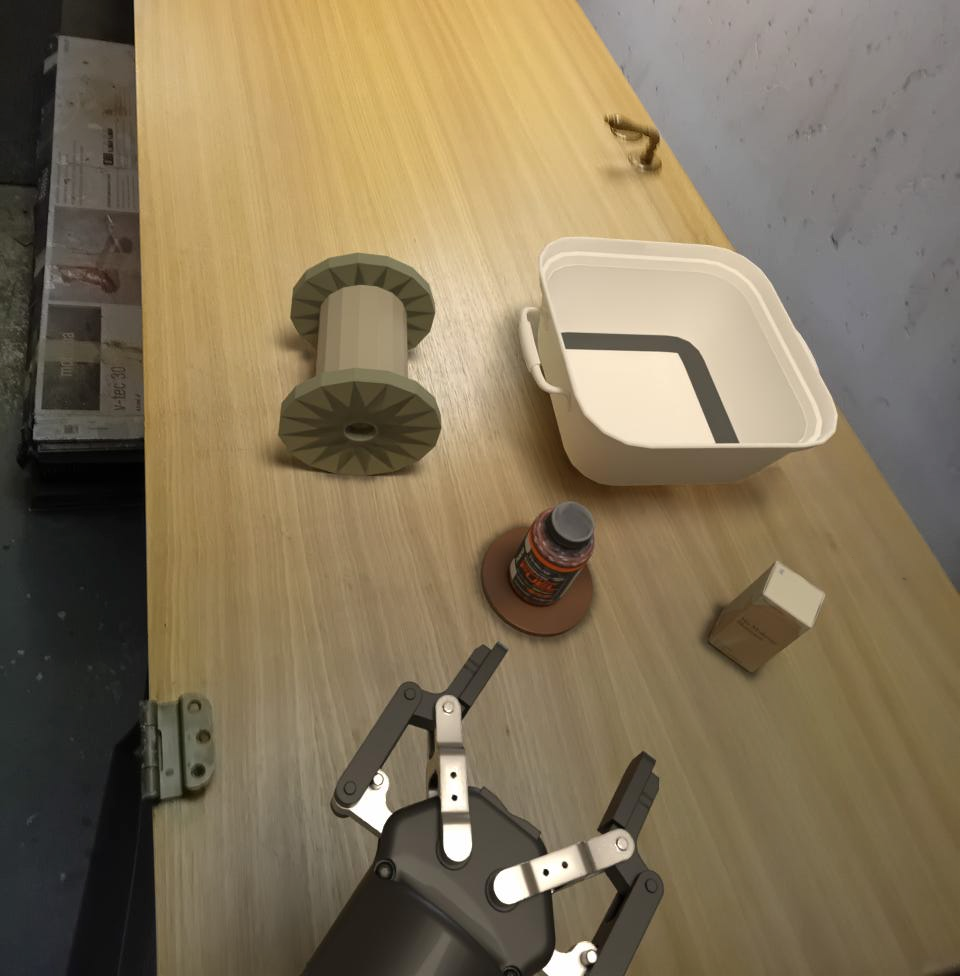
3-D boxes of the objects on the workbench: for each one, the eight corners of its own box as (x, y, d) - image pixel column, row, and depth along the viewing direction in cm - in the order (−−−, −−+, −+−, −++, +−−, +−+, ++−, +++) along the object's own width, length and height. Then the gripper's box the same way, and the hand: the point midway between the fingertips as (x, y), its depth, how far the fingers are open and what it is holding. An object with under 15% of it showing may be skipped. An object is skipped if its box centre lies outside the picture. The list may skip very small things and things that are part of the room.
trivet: (613, 596, 83) (615, 593, 82) (532, 659, 77) (534, 657, 76) (540, 511, 87) (541, 508, 87) (458, 565, 81) (459, 562, 81)
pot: (518, 530, 85) (561, 447, 75) (474, 320, 104) (504, 230, 93) (807, 520, 95) (882, 445, 84) (720, 329, 113) (773, 248, 102)
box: (706, 641, 82) (759, 590, 74) (722, 609, 85) (775, 556, 77) (754, 676, 80) (813, 628, 73) (768, 642, 83) (827, 592, 75)
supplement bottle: (498, 591, 80) (530, 532, 71) (518, 540, 84) (551, 479, 76) (556, 619, 79) (595, 562, 71) (573, 566, 83) (612, 507, 75)
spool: (424, 479, 87) (454, 389, 76) (274, 470, 83) (284, 374, 73) (420, 356, 98) (445, 262, 87) (287, 344, 94) (297, 245, 84)
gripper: (557, 1217, 27) (729, 774, 38) (225, 910, 30) (470, 583, 41) (500, 1200, 32) (665, 817, 43) (223, 941, 36) (440, 644, 46)
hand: (569, 703), depth 42 cm, fingers open, 8 cm apart
